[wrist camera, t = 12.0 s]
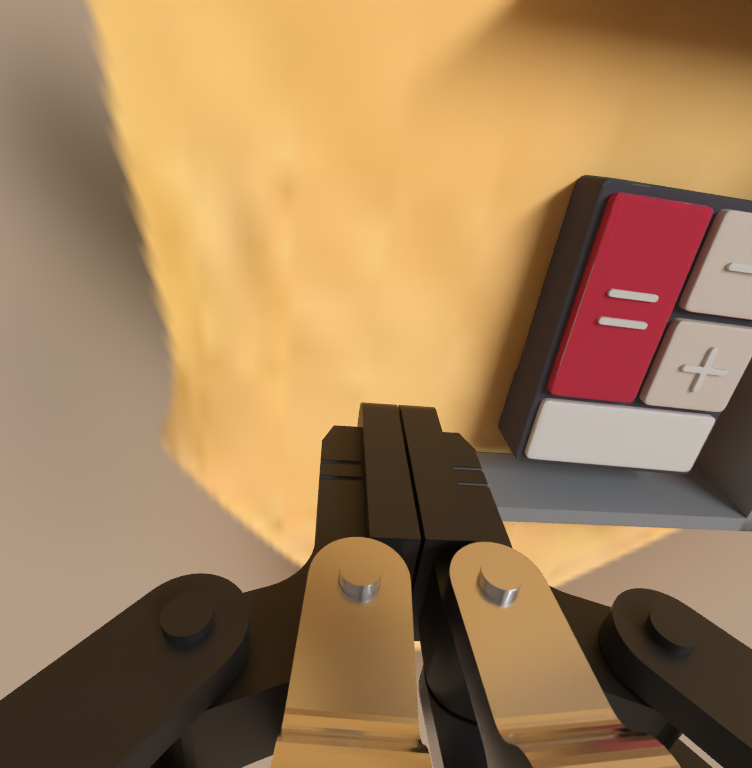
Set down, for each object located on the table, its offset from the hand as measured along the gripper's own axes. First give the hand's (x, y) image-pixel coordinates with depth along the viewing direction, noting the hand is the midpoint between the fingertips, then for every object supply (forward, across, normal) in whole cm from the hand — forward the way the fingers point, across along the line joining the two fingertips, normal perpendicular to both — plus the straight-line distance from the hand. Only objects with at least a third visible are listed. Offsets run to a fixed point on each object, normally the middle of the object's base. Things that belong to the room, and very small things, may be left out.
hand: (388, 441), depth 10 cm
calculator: (+17, -15, +3) cm, 23 cm away
